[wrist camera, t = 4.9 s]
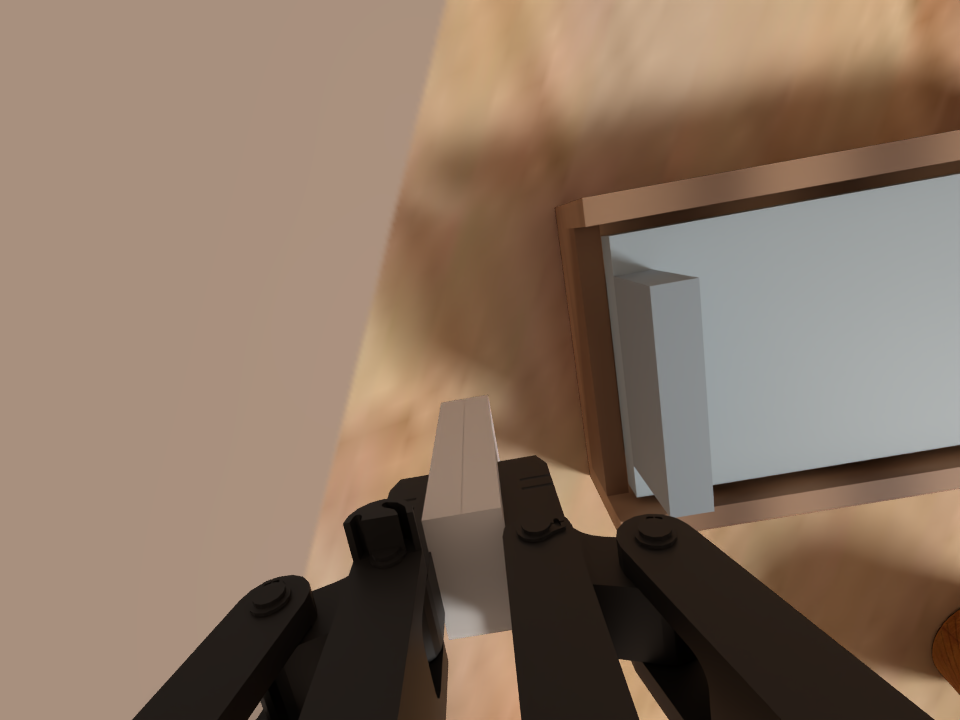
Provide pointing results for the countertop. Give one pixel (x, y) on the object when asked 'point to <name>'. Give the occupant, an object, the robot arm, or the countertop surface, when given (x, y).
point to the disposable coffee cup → (948, 651)
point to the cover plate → (786, 338)
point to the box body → (712, 198)
